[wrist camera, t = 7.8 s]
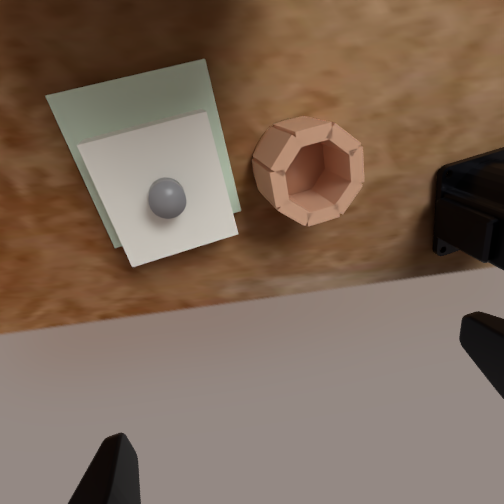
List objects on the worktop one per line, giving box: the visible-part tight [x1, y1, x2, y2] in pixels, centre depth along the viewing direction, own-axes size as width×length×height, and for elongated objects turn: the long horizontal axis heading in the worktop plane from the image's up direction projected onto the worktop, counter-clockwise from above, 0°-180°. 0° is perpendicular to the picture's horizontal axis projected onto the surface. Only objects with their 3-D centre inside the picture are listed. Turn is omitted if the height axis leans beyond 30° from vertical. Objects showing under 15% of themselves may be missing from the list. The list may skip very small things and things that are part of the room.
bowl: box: [252, 116, 364, 227], centre depth 18 cm, size 5×5×4 cm
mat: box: [45, 59, 241, 248], centre depth 17 cm, size 7×8×1 cm
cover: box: [77, 109, 238, 267], centre depth 16 cm, size 6×6×3 cm
